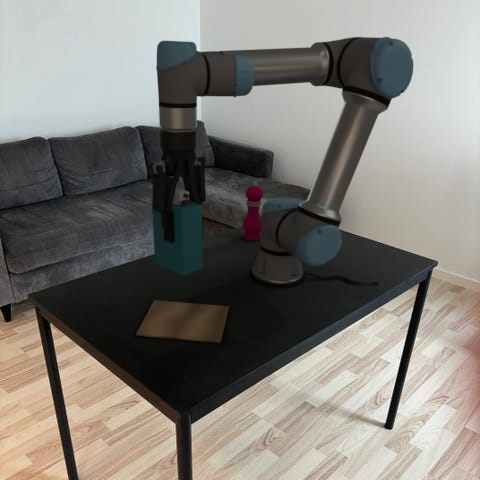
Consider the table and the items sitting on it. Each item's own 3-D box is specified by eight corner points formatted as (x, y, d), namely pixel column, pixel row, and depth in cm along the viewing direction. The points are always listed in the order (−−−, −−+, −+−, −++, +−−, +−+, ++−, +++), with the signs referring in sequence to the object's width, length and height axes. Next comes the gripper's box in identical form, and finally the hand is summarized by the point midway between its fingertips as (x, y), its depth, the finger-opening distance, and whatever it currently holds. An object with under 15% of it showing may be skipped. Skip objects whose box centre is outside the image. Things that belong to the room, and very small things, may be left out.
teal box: (174, 255, 117) (202, 268, 112) (155, 262, 113) (183, 275, 108) (171, 182, 108) (202, 192, 103) (150, 187, 104) (181, 197, 99)
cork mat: (229, 308, 125) (229, 306, 125) (220, 343, 111) (220, 341, 111) (154, 301, 127) (154, 300, 126) (136, 335, 112) (135, 333, 112)
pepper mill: (260, 242, 167) (264, 185, 157) (240, 240, 168) (242, 183, 158) (263, 235, 173) (267, 179, 163) (243, 233, 174) (246, 177, 164)
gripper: (199, 122, 105) (199, 224, 117) (128, 130, 92) (136, 243, 104) (224, 127, 101) (221, 232, 112) (153, 136, 88) (159, 253, 100)
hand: (180, 237), depth 108 cm, fingers closed on teal box, 6 cm apart
